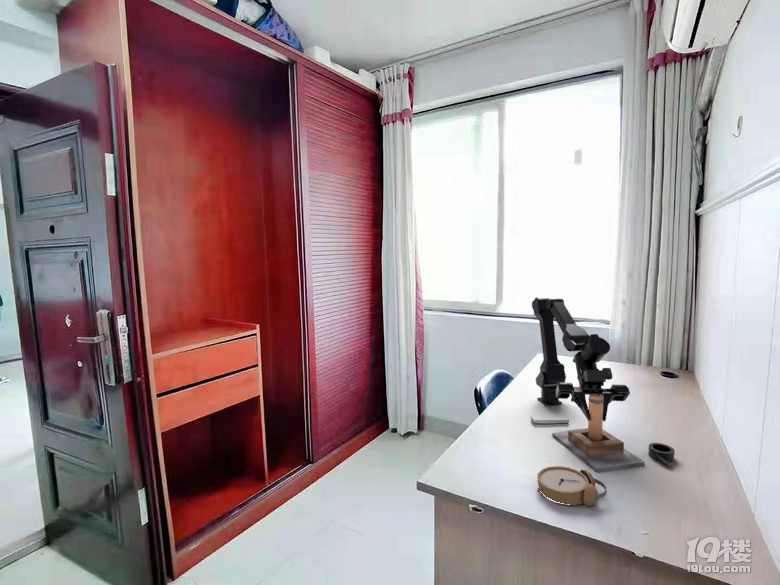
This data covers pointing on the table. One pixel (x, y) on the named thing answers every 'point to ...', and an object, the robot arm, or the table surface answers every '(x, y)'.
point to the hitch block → (598, 450)
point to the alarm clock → (569, 485)
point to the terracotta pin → (595, 417)
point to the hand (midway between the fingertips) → (596, 420)
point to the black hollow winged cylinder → (661, 453)
